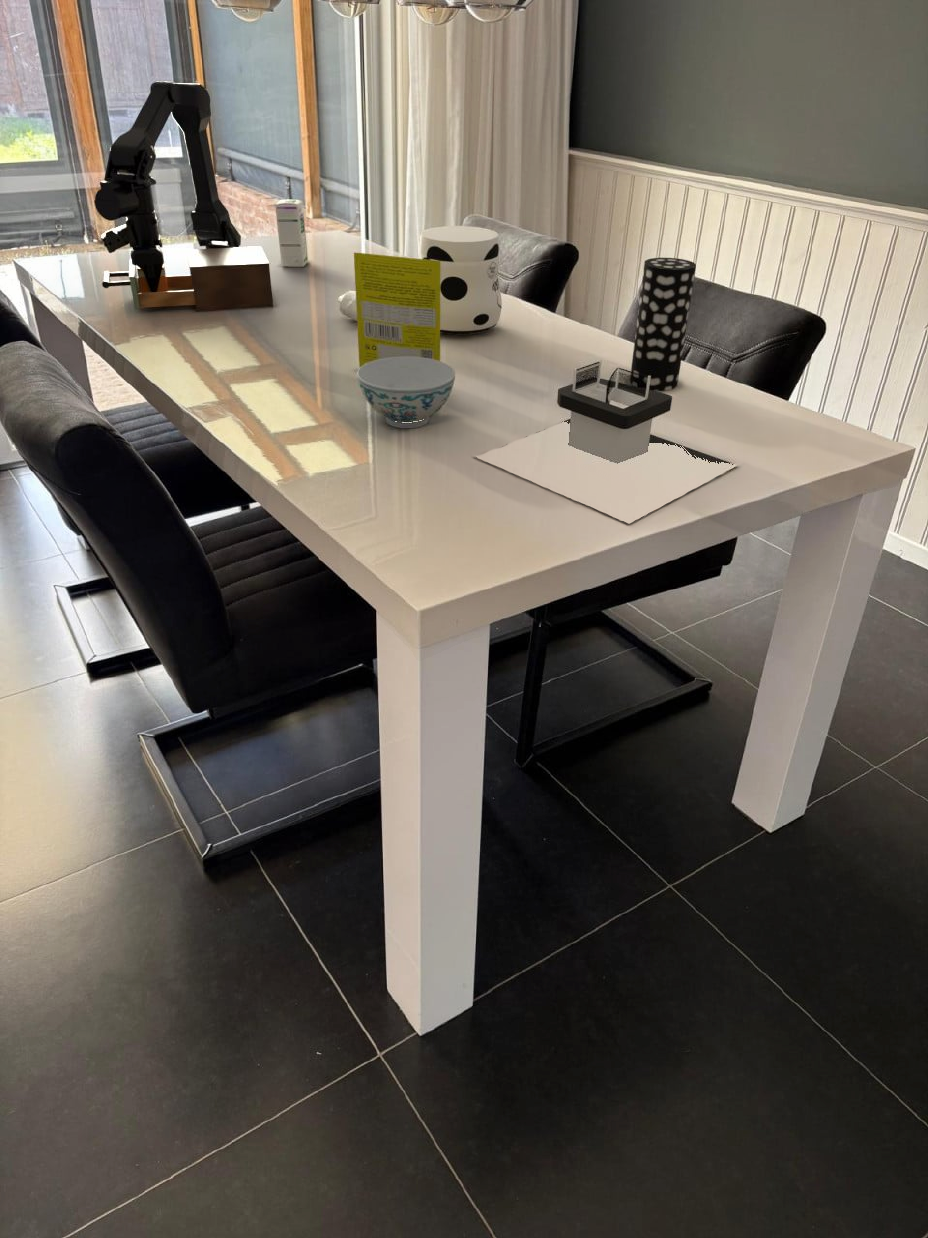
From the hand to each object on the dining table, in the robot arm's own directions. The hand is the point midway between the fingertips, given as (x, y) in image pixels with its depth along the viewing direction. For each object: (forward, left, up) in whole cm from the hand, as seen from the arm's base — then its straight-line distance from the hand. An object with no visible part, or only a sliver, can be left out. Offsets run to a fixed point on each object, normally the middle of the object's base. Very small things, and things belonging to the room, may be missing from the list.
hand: (154, 290), depth 191 cm
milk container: (-31, +59, -3) cm, 67 cm away
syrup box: (-44, -6, -3) cm, 45 cm away
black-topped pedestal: (+4, +117, -3) cm, 117 cm away
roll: (-21, +40, -3) cm, 45 cm away
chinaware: (+12, +85, -3) cm, 86 cm away
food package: (-2, +70, -3) cm, 70 cm away
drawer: (-1, +1, -2) cm, 2 cm away
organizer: (-13, +9, -3) cm, 16 cm away
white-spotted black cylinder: (-30, +105, -3) cm, 109 cm away
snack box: (0, 0, -1) cm, 1 cm away
